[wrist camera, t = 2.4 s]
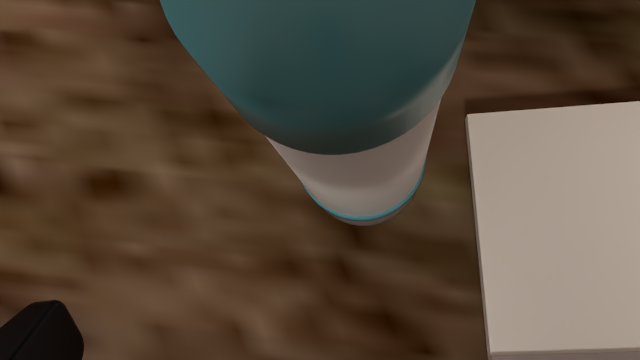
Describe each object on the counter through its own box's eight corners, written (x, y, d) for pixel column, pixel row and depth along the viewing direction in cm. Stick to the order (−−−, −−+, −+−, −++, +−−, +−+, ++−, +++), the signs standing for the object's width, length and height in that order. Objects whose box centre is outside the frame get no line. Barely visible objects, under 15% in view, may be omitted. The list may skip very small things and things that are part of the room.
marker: (307, 232, 19) (152, 116, 7) (303, 117, 20) (156, -179, 7) (428, 225, 19) (505, 87, 6) (418, 109, 20) (470, -223, 7)
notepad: (491, 400, 18) (496, 405, 17) (464, 119, 19) (467, 113, 19) (810, 393, 17) (827, 398, 16) (750, 98, 18) (765, 90, 18)
